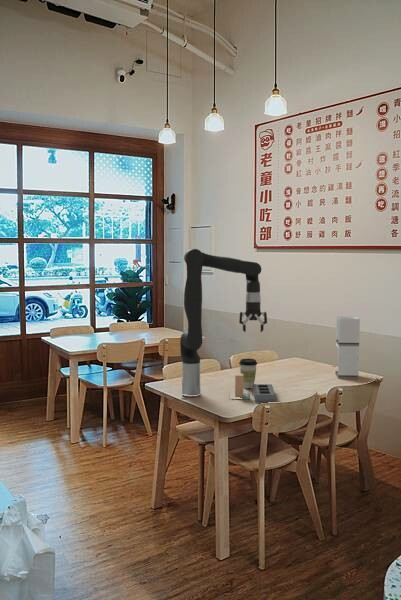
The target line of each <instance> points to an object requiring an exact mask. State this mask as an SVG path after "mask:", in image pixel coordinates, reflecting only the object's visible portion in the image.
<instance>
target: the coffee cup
mask: <svg viewBox="0 0 401 600" xmlns="http://www.w3.org/2000/svg"><path fill="white" fill-rule="evenodd" d="M238 365H239V367H240V368H239V370H240V371H239V373H240V374H243V389H245V388H252V389H253V384H255V381H256V375H257V374H256V373H257V365H258V362H257V359H254V358H241V359H240V360H239V363H238Z"/></svg>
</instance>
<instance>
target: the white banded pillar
mask: <svg viewBox="0 0 401 600" xmlns="http://www.w3.org/2000/svg"><path fill="white" fill-rule="evenodd" d="M335 319H336V321H335V325H336V326H335V328H336V330H335V345H336V347H337V349H338V352H337V354H338V355H337V357H338V358H337V359H338V360H337V370H335V371H334V374H335V376H336V378H337V379H338V380H359V366H360V365H359V363H360V326H361V325H360V324H361V323H360V320H361V319H360V318H359V317H357V316H353V315H352V316H343V315H341V316H336V318H335Z"/></svg>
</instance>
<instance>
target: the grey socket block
mask: <svg viewBox="0 0 401 600" xmlns="http://www.w3.org/2000/svg"><path fill="white" fill-rule="evenodd" d="M252 395H253V400H254V399H255V400H254V403H255V402H275V401H276V398H277V397H276V392H275V389H274V387H273V384H272V383H270V384H269V383H267V384H266V383H265V384H262V383H261V384H259V383H257V384H256V383H254V384H253V388H252Z"/></svg>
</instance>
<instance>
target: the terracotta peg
mask: <svg viewBox="0 0 401 600" xmlns="http://www.w3.org/2000/svg"><path fill="white" fill-rule="evenodd" d="M234 376H235V377H234V383H235V384H234V393H235V397H243V393H244V388H243V374H241V373H235V374H234Z"/></svg>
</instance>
